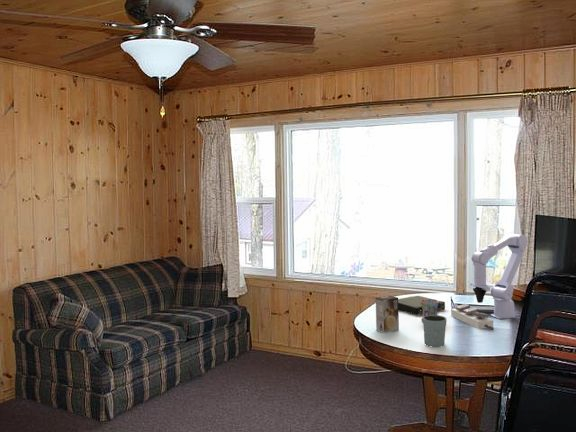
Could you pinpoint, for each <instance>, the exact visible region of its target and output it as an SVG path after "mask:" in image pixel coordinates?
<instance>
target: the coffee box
mask: <svg viewBox="0 0 576 432" xmlns="http://www.w3.org/2000/svg"><path fill="white" fill-rule="evenodd" d="M398 299H399V297H397V296H394V295H385V296H380V297H375V316H376V317H375V322H376V323H375V325H376V328H375V329H376V331H378V330H379V332H380V331H382V332H381V333H383V332H386V333H390V332H396V330H397V331H399V330H400V323H399V310H398Z"/></svg>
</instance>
